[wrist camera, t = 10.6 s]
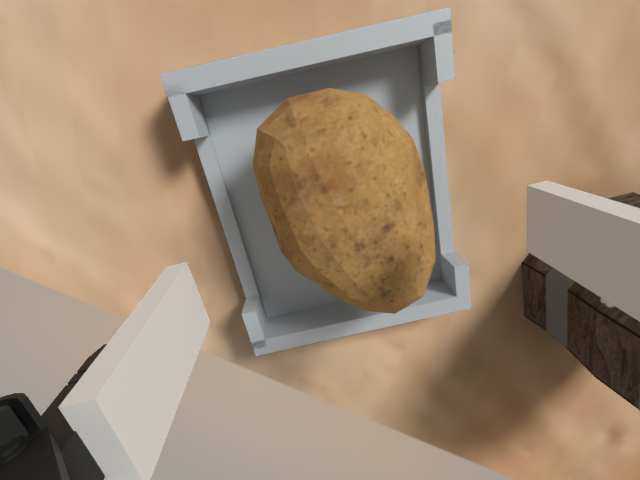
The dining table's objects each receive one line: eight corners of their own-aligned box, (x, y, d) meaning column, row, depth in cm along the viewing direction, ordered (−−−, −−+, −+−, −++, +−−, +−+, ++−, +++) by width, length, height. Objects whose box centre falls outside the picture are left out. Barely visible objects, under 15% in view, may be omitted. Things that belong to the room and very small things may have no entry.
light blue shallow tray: (179, 79, 22) (159, 73, 19) (426, 22, 22) (450, 6, 19) (260, 328, 29) (255, 356, 25) (451, 285, 29) (471, 308, 25)
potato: (329, 300, 28) (342, 370, 20) (227, 139, 23) (194, 151, 16) (442, 241, 27) (500, 291, 19) (358, 59, 22) (390, 31, 14)
